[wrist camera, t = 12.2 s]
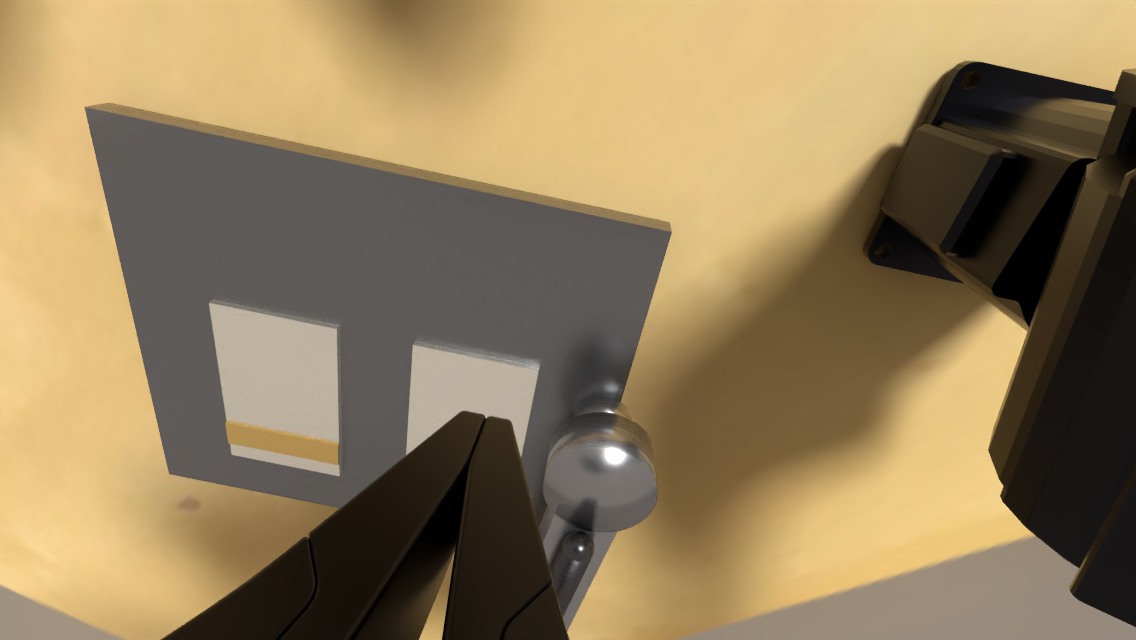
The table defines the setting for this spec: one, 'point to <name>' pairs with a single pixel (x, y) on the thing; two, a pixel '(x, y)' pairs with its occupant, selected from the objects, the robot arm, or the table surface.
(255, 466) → the panel
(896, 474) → the table surface
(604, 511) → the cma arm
